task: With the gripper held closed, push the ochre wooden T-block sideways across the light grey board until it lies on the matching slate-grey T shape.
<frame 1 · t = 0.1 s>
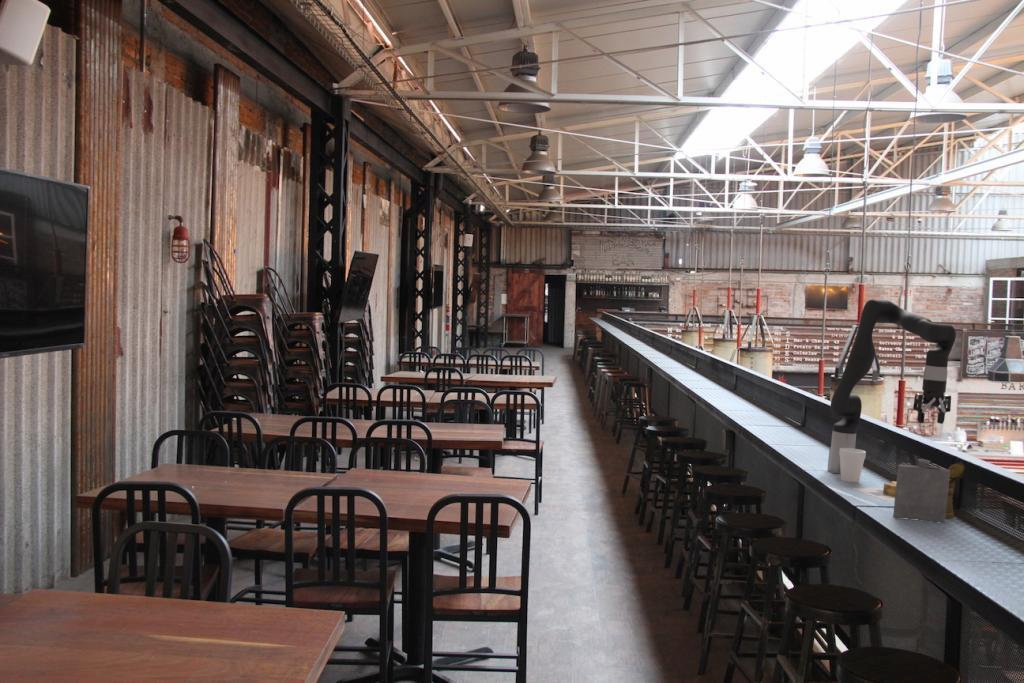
hand: (930, 423, 288), 29 cm above the table, tool pointing down, fingers open, 8 cm apart
foam cup: (849, 483, 314), on the table
t board: (887, 496, 293), on the table
hip flask: (918, 519, 263), on the table
wooden mug: (943, 515, 272), on the table
t block: (897, 494, 295), point 1 cm above the table, touching t board
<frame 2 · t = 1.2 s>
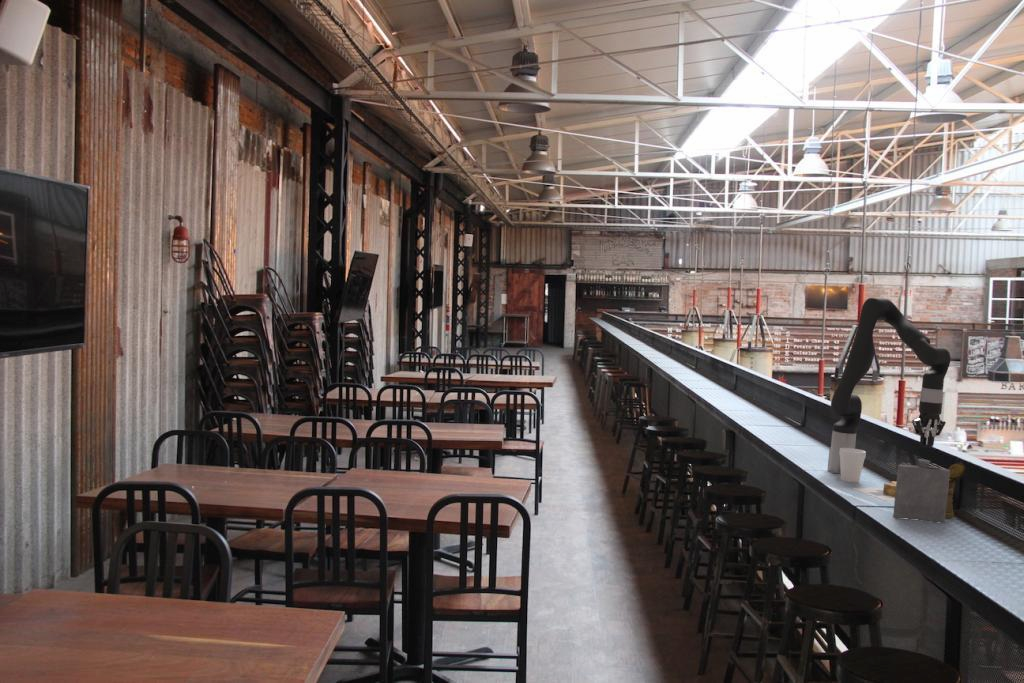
hand: (926, 446, 296), 19 cm above the table, tool pointing down, fingers closed
nothing on the table moved.
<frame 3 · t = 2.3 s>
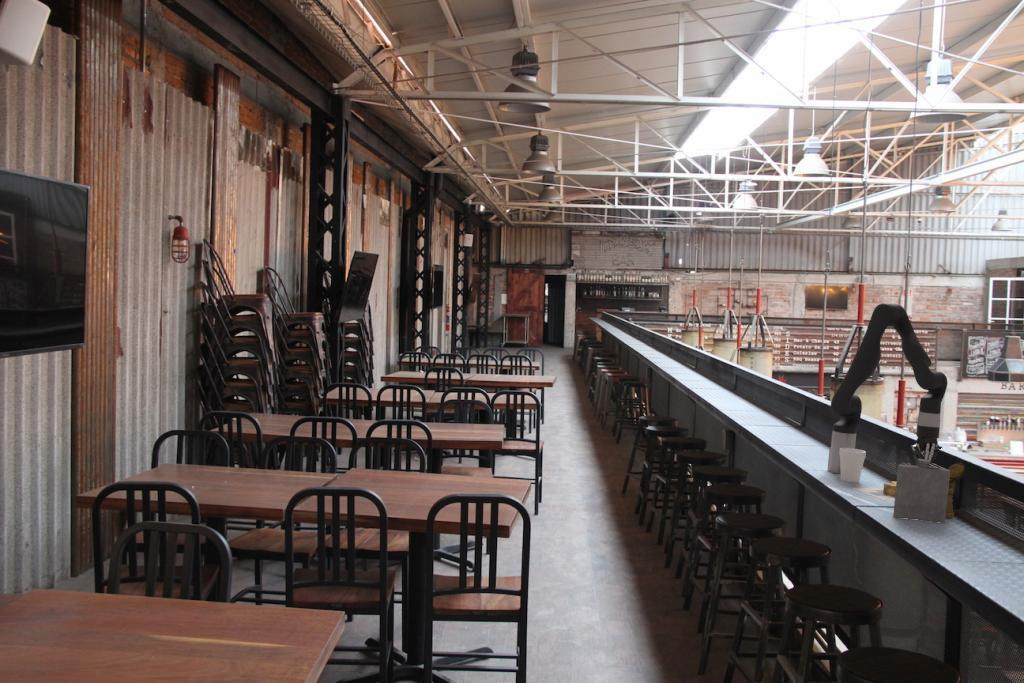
hand: (924, 470, 297), 10 cm above the table, tool pointing down, fingers closed
nothing on the table moved.
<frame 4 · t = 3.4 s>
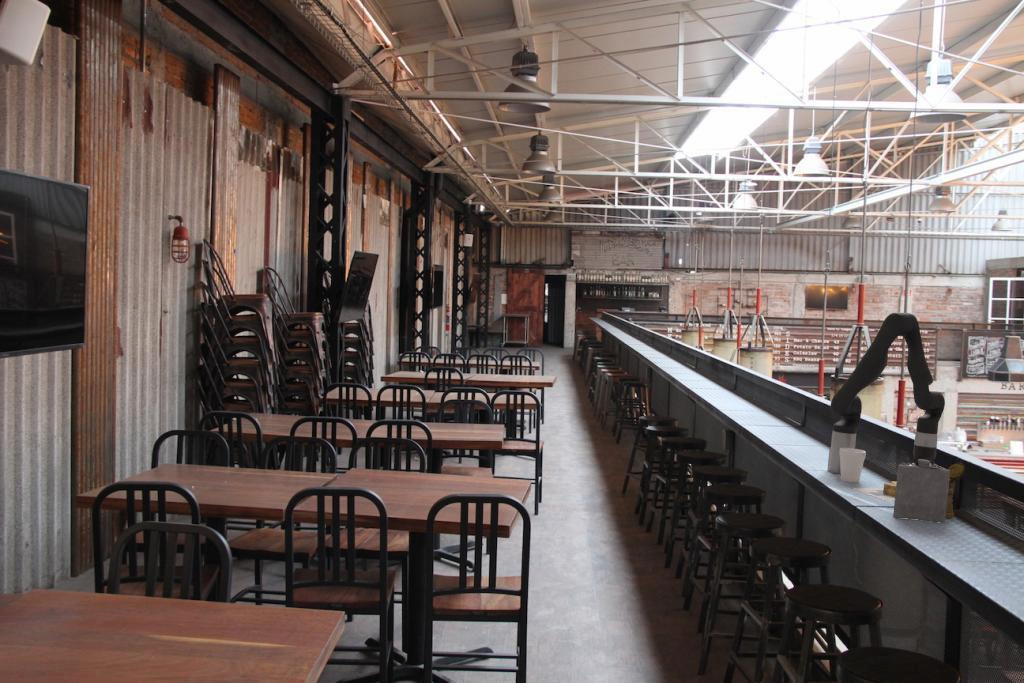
hand: (920, 490, 297), 2 cm above the table, tool pointing down, fingers closed
nothing on the table moved.
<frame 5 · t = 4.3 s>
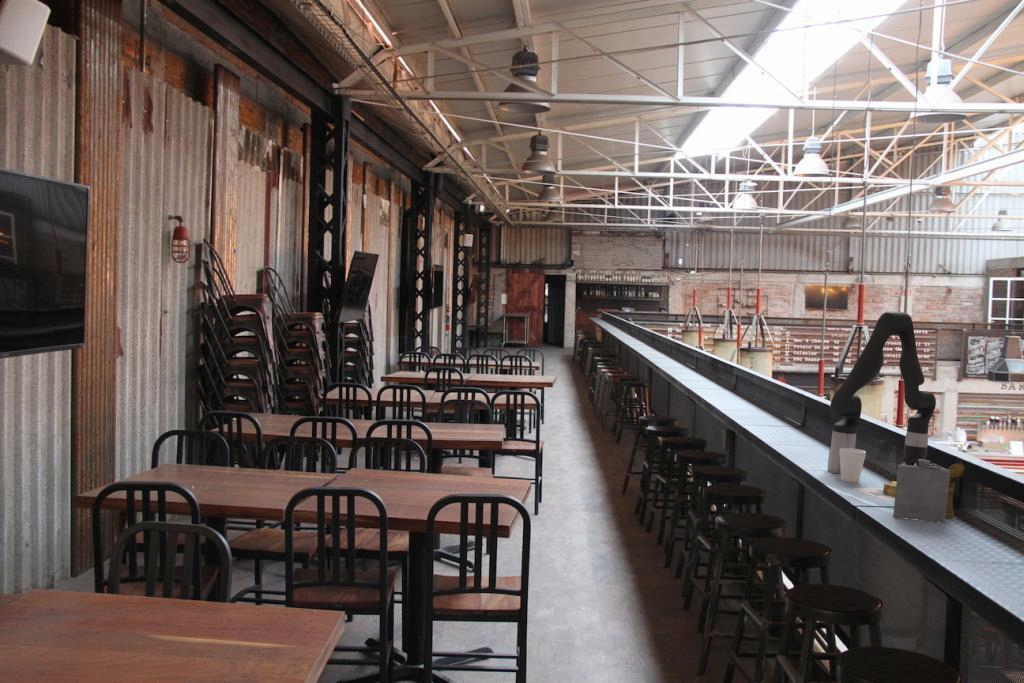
hand: (911, 490, 296), 2 cm above the table, tool pointing down, fingers closed
t block: (897, 494, 294), point 1 cm above the table, touching gripper
everything else where it was.
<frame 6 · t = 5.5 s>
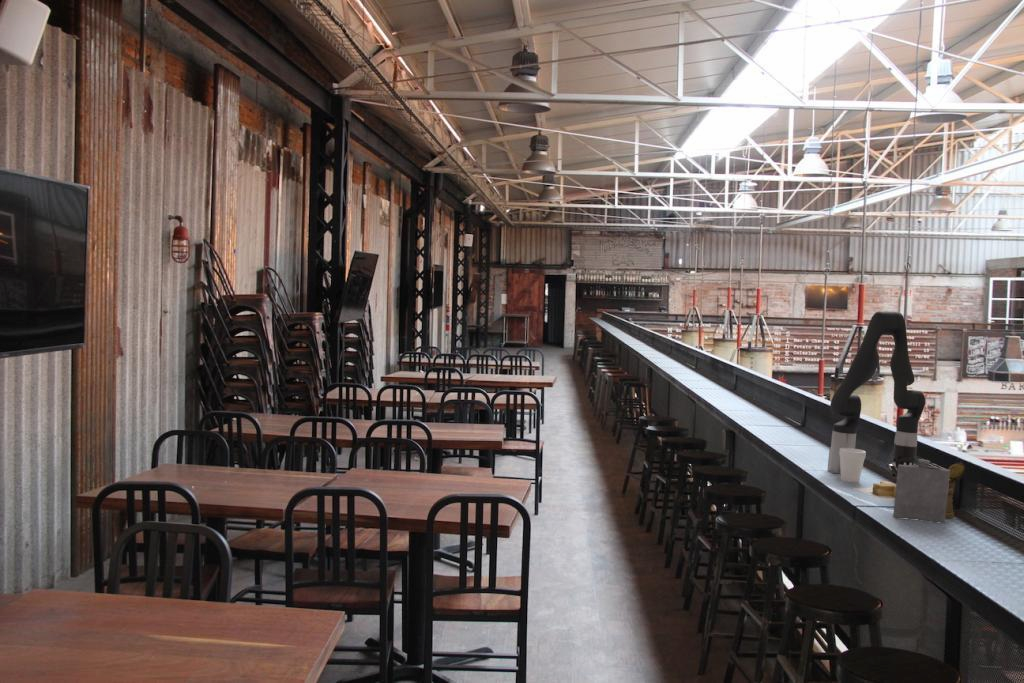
hand: (901, 489, 295), 3 cm above the table, tool pointing down, fingers closed
t block: (886, 494, 293), point 1 cm above the table, touching gripper, t board
everything else where it was.
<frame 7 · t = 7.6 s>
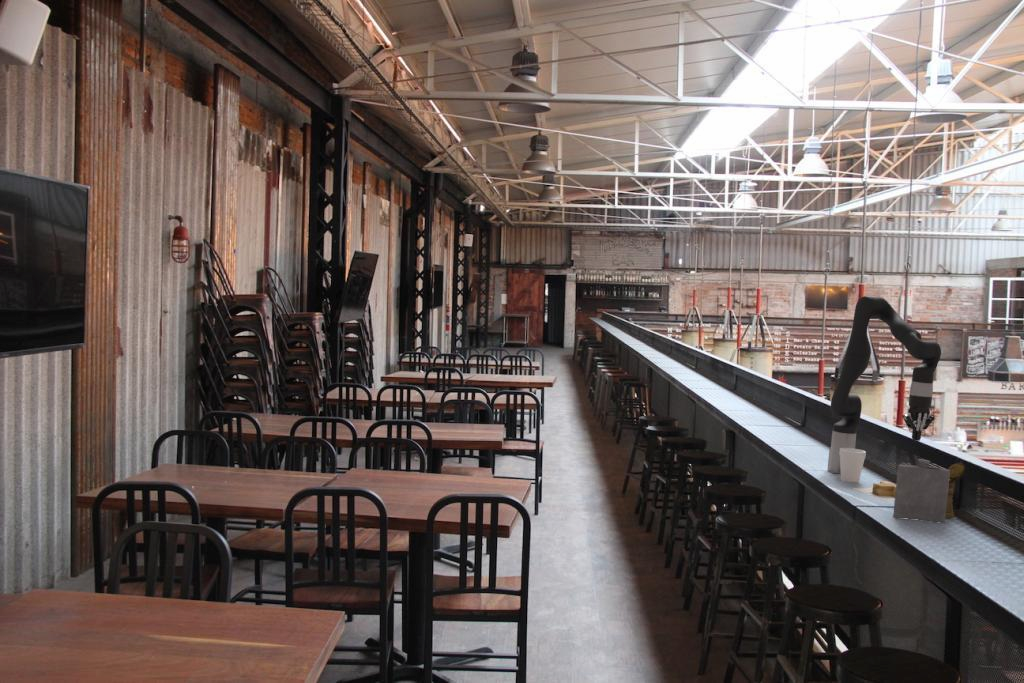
hand: (915, 440, 296), 21 cm above the table, tool pointing down, fingers closed
t block: (886, 494, 293), point 1 cm above the table, touching t board
everything else where it was.
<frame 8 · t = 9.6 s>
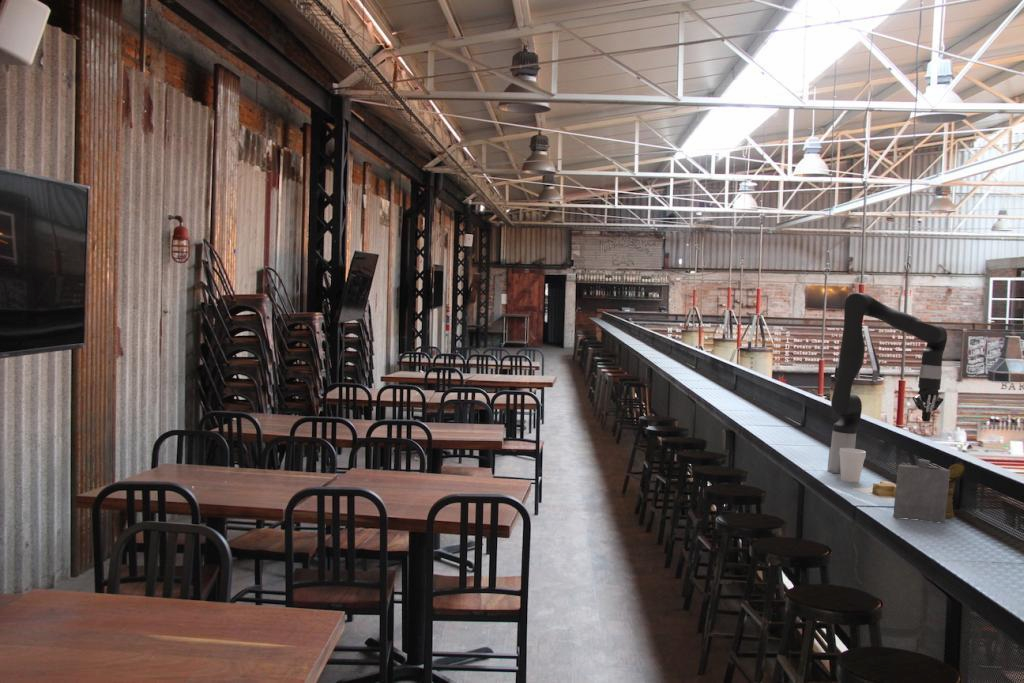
hand: (925, 421, 308), 27 cm above the table, tool pointing down, fingers closed
nothing on the table moved.
at the end: t block 1.4 cm from the target spot, point 1.0 cm above the table; t block tilted 0° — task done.
